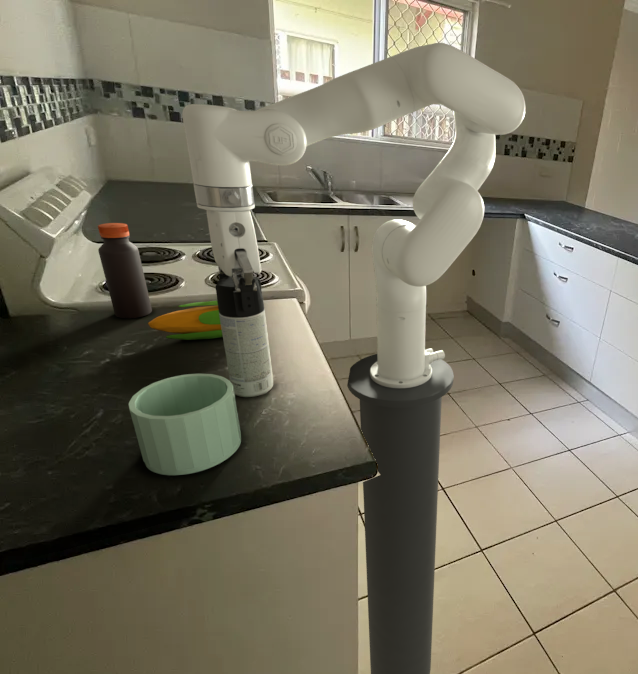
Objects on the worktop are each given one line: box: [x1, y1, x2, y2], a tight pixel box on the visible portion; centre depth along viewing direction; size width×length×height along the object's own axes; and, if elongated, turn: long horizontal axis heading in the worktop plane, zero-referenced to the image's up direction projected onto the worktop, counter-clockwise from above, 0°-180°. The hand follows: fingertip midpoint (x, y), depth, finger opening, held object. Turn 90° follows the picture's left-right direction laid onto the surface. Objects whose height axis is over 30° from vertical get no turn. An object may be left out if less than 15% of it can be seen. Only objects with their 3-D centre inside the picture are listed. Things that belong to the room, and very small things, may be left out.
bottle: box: [97, 222, 153, 319], centre depth 104 cm, size 7×7×20 cm
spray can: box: [215, 276, 274, 398], centre depth 80 cm, size 7×7×20 cm
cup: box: [127, 373, 242, 476], centre depth 66 cm, size 12×12×9 cm
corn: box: [147, 300, 223, 341], centre depth 99 cm, size 7×8×20 cm
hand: (240, 304), depth 77 cm, fingers open, 9 cm apart
